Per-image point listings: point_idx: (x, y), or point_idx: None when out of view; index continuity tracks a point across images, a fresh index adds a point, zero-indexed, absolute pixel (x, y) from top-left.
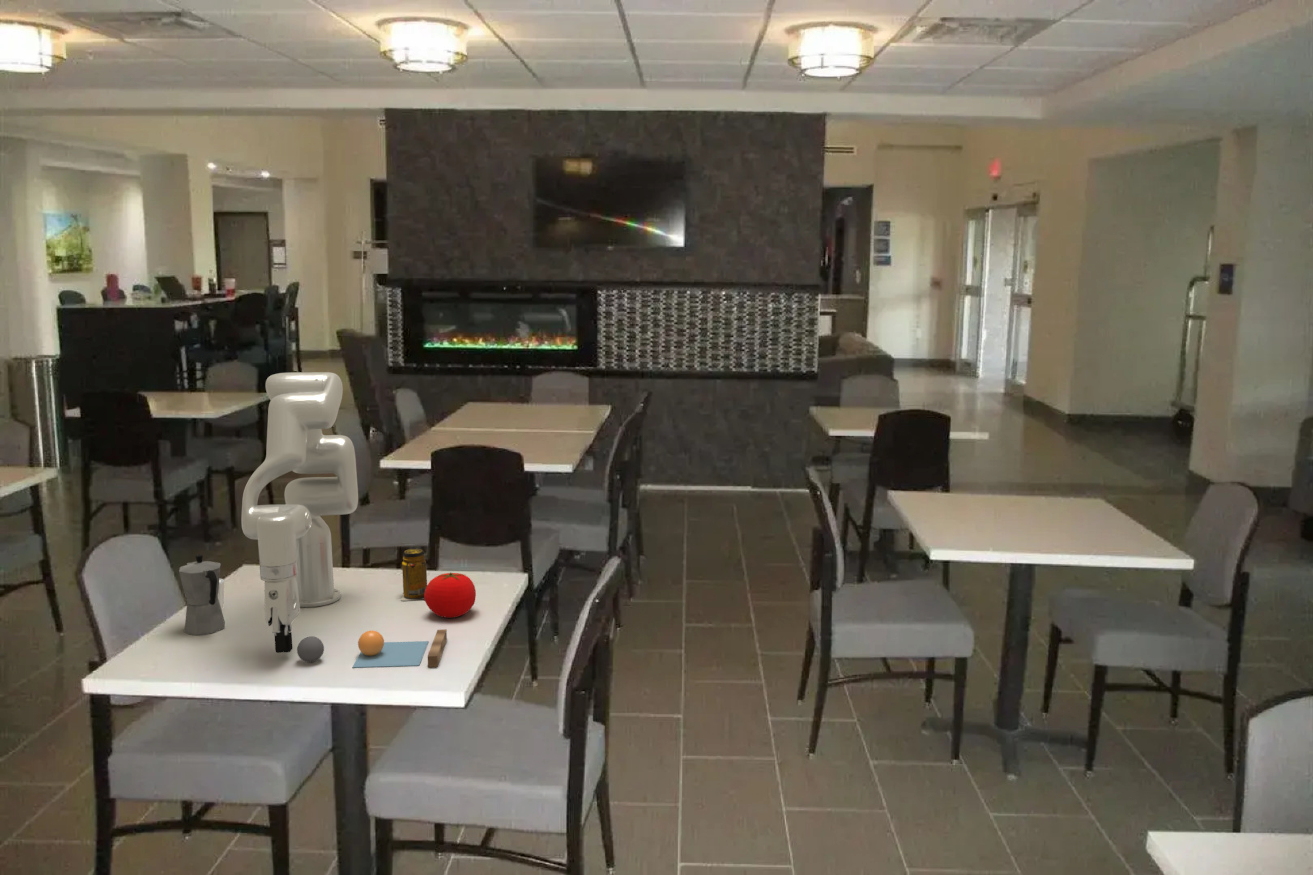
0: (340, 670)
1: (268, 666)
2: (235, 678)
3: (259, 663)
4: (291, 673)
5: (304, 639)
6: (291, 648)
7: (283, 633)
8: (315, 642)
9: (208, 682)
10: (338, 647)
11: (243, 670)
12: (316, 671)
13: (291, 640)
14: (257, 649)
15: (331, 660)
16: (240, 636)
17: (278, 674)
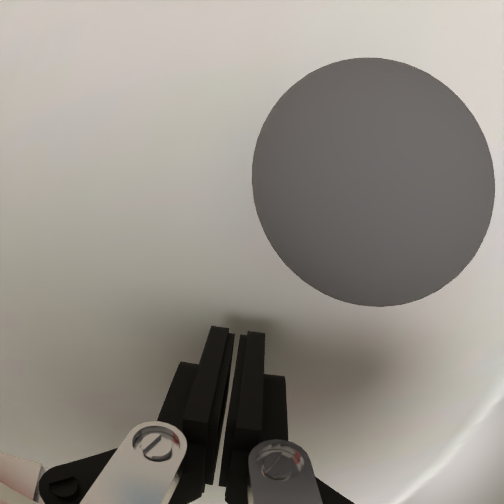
0: (491, 27)
1: (345, 393)
2: (415, 453)
3: (290, 427)
4: (479, 272)
5: (445, 262)
6: (227, 334)
7: (331, 488)
8: (479, 129)
9: (403, 491)
10: (120, 34)
11: (351, 455)
12: (493, 141)
13: (214, 370)
14: (120, 433)
15: (352, 44)
16: (32, 446)
17: (464, 330)
